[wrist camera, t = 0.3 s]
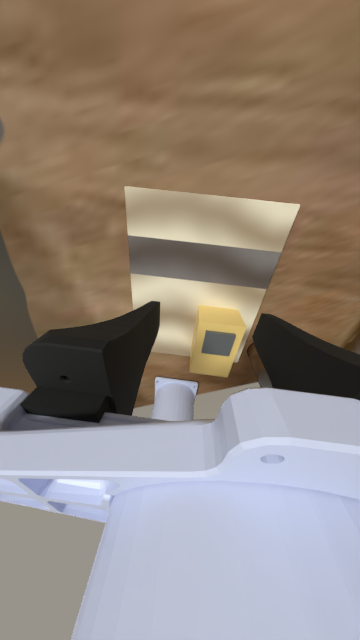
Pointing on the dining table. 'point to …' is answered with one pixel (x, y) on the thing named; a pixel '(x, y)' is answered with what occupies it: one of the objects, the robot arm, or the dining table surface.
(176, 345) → the panel
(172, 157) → the dining table surface
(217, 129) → the dining table surface
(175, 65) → the dining table surface
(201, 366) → the stud finder
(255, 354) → the brown cylindrical piece
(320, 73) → the dining table surface
